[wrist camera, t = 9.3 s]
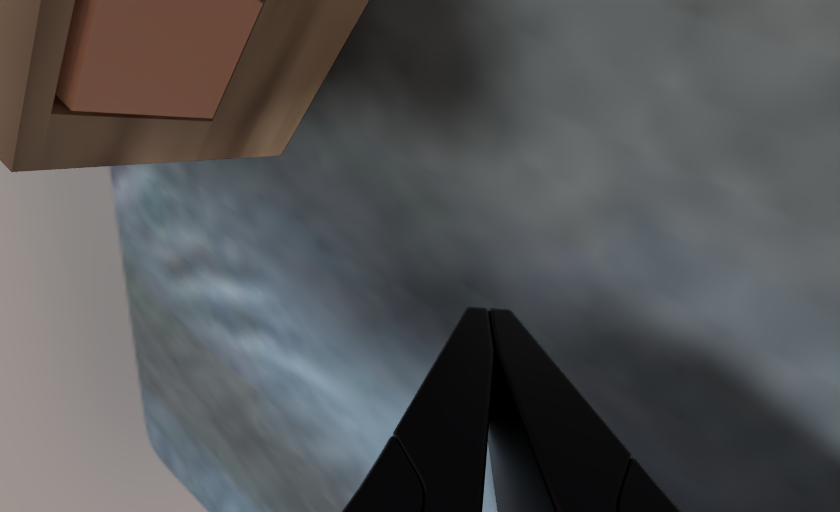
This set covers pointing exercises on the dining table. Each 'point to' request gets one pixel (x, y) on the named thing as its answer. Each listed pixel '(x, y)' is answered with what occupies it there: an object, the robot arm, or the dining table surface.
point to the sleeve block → (164, 135)
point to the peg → (153, 55)
